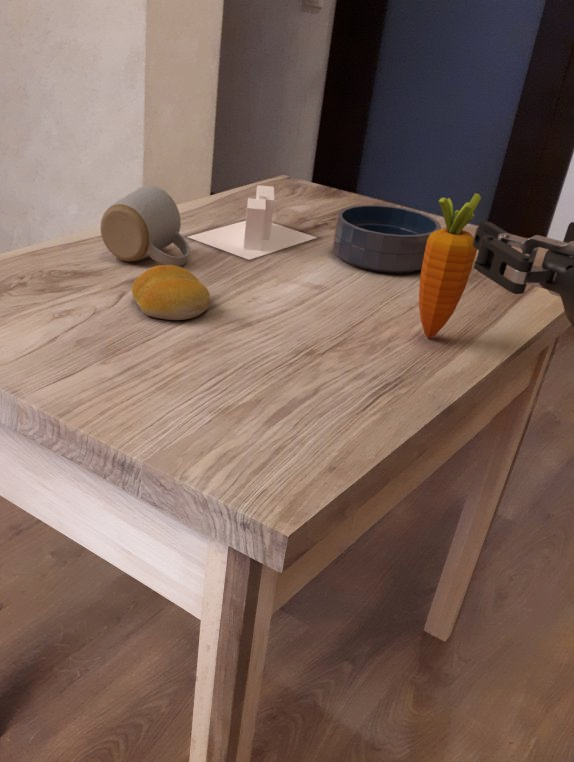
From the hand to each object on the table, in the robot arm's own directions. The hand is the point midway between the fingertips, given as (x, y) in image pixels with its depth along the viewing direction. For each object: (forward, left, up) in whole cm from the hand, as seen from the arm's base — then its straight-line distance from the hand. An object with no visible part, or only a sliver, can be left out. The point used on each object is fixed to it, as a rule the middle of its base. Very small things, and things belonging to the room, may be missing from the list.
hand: (525, 233), depth 68 cm
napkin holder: (-3, -46, -15) cm, 48 cm away
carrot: (-3, -11, -15) cm, 19 cm away
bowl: (-15, -33, -15) cm, 39 cm away
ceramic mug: (+14, -44, -15) cm, 48 cm away
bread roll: (+19, -29, -15) cm, 37 cm away
